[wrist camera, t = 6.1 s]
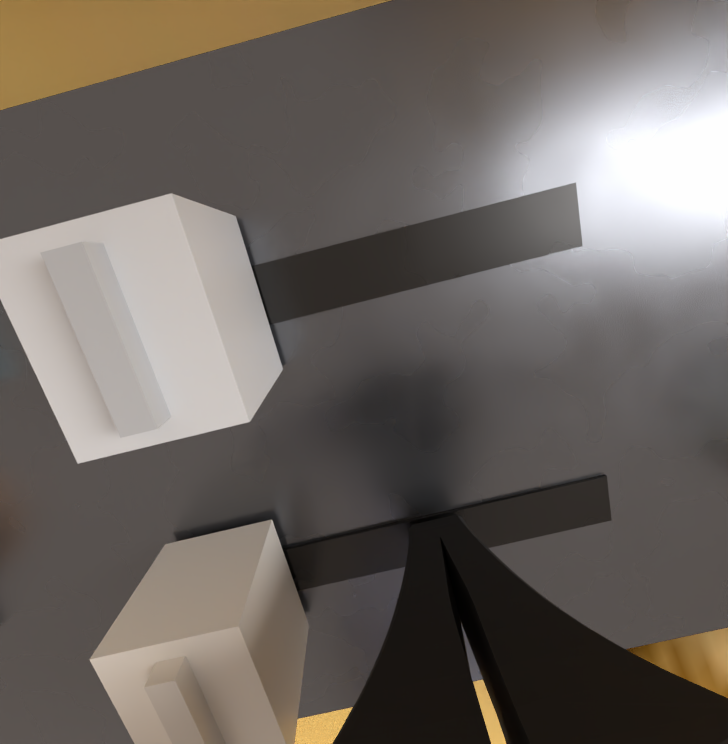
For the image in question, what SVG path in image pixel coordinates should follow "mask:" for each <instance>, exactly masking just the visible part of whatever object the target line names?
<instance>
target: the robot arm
mask: <svg viewBox="0 0 728 744" xmlns="http://www.w3.org/2000/svg"><path fill="white" fill-rule="evenodd" d="M461 623H462V626H463V629H464V631H465V634H466V636H467V639H468V642H469V644H470V647H471V649H472V652H473V655H474V657H475V660H476V662H477V665H478V667H479V670H480V673H481V675H482V678H483V680H484V683H485V685H486V688H487V691H488V693H489V696H490V698H491V701H492V703H493V706H494V709H495V711H496V714H497V717H498V719H499V722H500V725H501V728H502V731H503V734H504V737H505V740H506V743H507V744H728V698H726V697H724V696H721V695H719V694H717V693H715V692H712V691H710V690H708V689H706V688H703V687H701V686H699V685H697V684H694V683H692V682H690V681H688V680H686V679H683V678H681V677H679V676H677V675H674V674H672V673H670V672H668V671H666V670H664V669H662V668H660V667H658V666H656V665H654V664H652V663H650V662H648V661H646V660H644V659H642V658H640V657H638V656H636V655H634V654H633V653H631V652H629V651H627V650H626V649H624V648H622V647H621V646H619V645H617V644H616V643H614V642H612V641H610V640H609V639H607V638H605V637H604V636H602V635H600V634H598V633H597V632H595V631H593V630H592V629H590V628H588V627H587V626H585V625H584V624H582V623H581V622H579V621H578V620H576V619H575V618H573V617H572V616H570V615H569V614H567V613H566V612H564V611H563V610H562V609H560V608H559V607H557V606H556V605H555V604H553V603H552V602H550V601H549V600H548V599H546V598H545V597H544V596H542V595H541V594H540V593H539V592H537V591H536V590H535V589H533V588H532V587H531V586H530V585H529V584H527V583H526V582H525V581H524V580H523V579H521V578H520V577H519V576H518V575H517V574H515V573H514V572H513V571H512V570H511V569H510V568H509V567H508V566H507V565H505V564H504V563H503V562H502V561H501V560H500V559H499V558H498V557H497V556H496V555H495V554H494V553H493V552H492V551H491V550H490V549H489V548H488V547H487V546H486V545H485V544H484V543H483V542H482V541H481V540H480V539H479V538H478V537H477V536H476V534H475V533H474V532H473V531H472V530H471V529H470V527H469V526H468V525H467V524H466V522H465V521H464V520H463V518H462V517H461V516H459V515H457V514H456V515H452V516H447V517H443V518H439V519H435V520H431V521H426V522H422V523H418V524H414V525H412V526H411V527H410V528H409V546H408V554H407V561H406V566H405V571H404V576H403V581H402V585H401V589H400V593H399V596H398V600H397V603H396V607H395V611H394V614H393V617H392V620H391V623H390V626H389V629H388V632H387V635H386V637H385V640H384V642H383V645H382V648H381V650H380V653H379V655H378V657H377V659H376V662H375V664H374V666H373V668H372V671H371V673H370V675H369V677H368V680H367V682H366V684H365V686H364V688H363V690H362V692H361V694H360V696H359V698H358V699H357V701H356V703H355V705H354V707H353V708H352V710H351V712H350V714H349V716H348V717H347V719H346V721H345V723H344V725H343V727H342V728H341V730H340V732H339V734H338V735H337V737H336V739H335V740H334V742H333V744H491V742H490V739H489V735H488V732H487V728H486V725H485V722H484V718H483V715H482V712H481V708H480V705H479V701H478V698H477V695H476V691H475V688H474V684H473V681H472V678H471V672H470V667H469V662H468V657H467V652H466V646H465V641H464V636H463V631H462V626H461Z"/></svg>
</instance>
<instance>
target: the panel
mask: <svg viewBox="0 0 728 744" xmlns="http://www.w3.org/2000/svg"><path fill="white" fill-rule="evenodd" d="M171 193H172V194H175V195H178V196H181V197H183V198H186V199H189V200H192V201H195V202H197V203H200V204H203V205H206V206H209V207H212V208H214V209H217V210H220V211H223V212H226V213H229V214H231V215H234V216H236V219H237V222H238V225H239V228H240V232H241V235H242V238H243V241H244V245H245V248H246V251H247V254H248V257H249V261H250V264H251V267H252V270H253V274H254V277H255V280H256V283H257V287H258V290H259V293H260V296H261V300H262V303H263V306H264V309H265V313H266V316H267V319H268V322H269V325H270V329H271V332H272V335H273V338H274V342H275V345H276V348H277V351H278V355H279V358H280V361H281V364H282V368H283V370H282V372H281V373H280V375H279V377H278V378H277V380H276V381H275V383H274V384H273V386H272V388H271V389H270V391H269V392H268V394H267V396H266V397H265V399H264V400H263V402H262V403H261V405H260V407H259V408H258V410H257V411H256V413H255V414H254V416H253V418H252V419H251V421H250V422H247V423H243V424H239V425H235V426H231V427H227V428H223V429H219V430H215V431H210V432H206V433H202V434H198V435H194V436H190V437H186V438H182V439H177V440H173V441H169V442H165V443H161V444H157V445H153V446H149V447H145V448H140V449H136V450H132V451H128V452H124V453H120V454H116V455H112V456H108V457H103V458H99V459H95V460H91V461H87V462H83V463H79V464H78V463H77V461H76V459H75V457H74V455H73V453H72V450H71V448H70V446H69V444H68V442H67V440H66V438H65V436H64V433H63V431H62V429H61V427H60V425H59V423H58V421H57V419H56V416H55V414H54V412H53V410H52V408H51V406H50V404H49V402H48V399H47V397H46V395H45V393H44V391H43V389H42V387H41V385H40V382H39V380H38V378H37V376H36V374H35V372H34V370H33V368H32V366H31V363H30V361H29V359H28V357H27V355H26V353H25V351H24V349H23V346H22V344H21V342H20V340H19V338H18V336H17V334H16V332H15V329H14V327H13V325H12V323H11V321H10V319H9V317H8V315H7V312H6V310H5V308H4V306H3V304H2V302H1V300H0V744H134V742H133V740H132V738H131V736H130V734H129V733H128V731H127V729H126V727H125V725H124V723H123V721H122V720H121V718H120V716H119V714H118V712H117V710H116V708H115V706H114V705H113V703H112V701H111V699H110V697H109V695H108V693H107V692H106V690H105V688H104V686H103V684H102V682H101V680H100V678H99V677H98V675H97V673H96V671H95V669H94V667H93V665H92V664H91V662H90V660H89V659H90V658H91V656H92V655H93V653H94V652H95V650H96V649H97V647H98V646H99V644H100V643H101V641H102V640H103V638H104V636H105V635H106V633H107V632H108V630H109V629H110V627H111V626H112V624H113V623H114V621H115V620H116V618H117V617H118V615H119V614H120V612H121V611H122V609H123V608H124V606H125V605H126V603H127V602H128V600H129V599H130V597H131V595H132V594H133V592H134V591H135V589H136V588H137V586H138V585H139V583H140V582H141V580H142V579H143V577H144V576H145V574H146V573H147V571H148V570H149V568H150V567H151V565H152V564H153V562H154V561H155V559H156V558H157V556H158V554H159V553H160V551H161V550H162V548H163V547H164V545H165V544H168V543H173V542H177V541H181V540H186V539H190V538H194V537H199V536H203V535H207V534H211V533H216V532H220V531H224V530H229V529H233V528H237V527H242V526H246V525H250V524H254V523H259V522H263V521H267V520H272V521H273V524H274V526H275V529H276V532H277V535H278V538H279V541H280V544H281V546H282V549H283V552H284V555H285V558H286V561H287V564H288V566H289V569H290V572H291V575H292V578H293V581H294V584H295V586H296V589H297V592H298V595H299V598H300V601H301V604H302V606H303V609H304V612H305V615H306V618H307V621H308V624H309V628H308V636H307V645H306V653H305V661H304V669H303V677H302V686H301V694H300V702H299V710H298V718H303V717H308V716H312V715H317V714H322V713H327V712H331V711H336V710H341V709H345V708H350V707H354V705H355V703H356V701H357V699H358V698H359V696H360V694H361V692H362V690H363V688H364V686H365V684H366V682H367V680H368V677H369V675H370V673H371V671H372V668H373V666H374V664H375V662H376V659H377V657H378V655H379V653H380V650H381V648H382V645H383V642H384V640H385V637H386V635H387V632H388V629H389V626H390V623H391V620H392V617H393V614H394V611H395V607H396V603H397V600H398V596H399V593H400V589H401V585H402V581H403V576H404V571H405V566H406V561H407V554H408V546H409V528H410V527H411V526H412V525H414V524H418V523H422V522H426V521H431V520H435V519H439V518H443V517H447V516H452V515H456V514H457V515H459V516H461V517H462V518H463V520H464V521H465V522H466V524H467V525H468V526H469V527H470V529H471V530H472V531H473V532H474V533H475V534H476V536H477V537H478V538H479V539H480V540H481V541H482V542H483V543H484V544H485V545H486V546H487V547H488V548H489V549H490V550H491V551H492V552H493V553H494V554H495V555H496V556H497V557H498V558H499V559H500V560H501V561H502V562H503V563H504V564H505V565H507V566H508V567H509V568H510V569H511V570H512V571H513V572H514V573H515V574H517V575H518V576H519V577H520V578H521V579H523V580H524V581H525V582H526V583H527V584H529V585H530V586H531V587H532V588H533V589H535V590H536V591H537V592H539V593H540V594H541V595H542V596H544V597H545V598H546V599H548V600H549V601H550V602H552V603H553V604H555V605H556V606H557V607H559V608H560V609H562V610H563V611H564V612H566V613H567V614H569V615H570V616H572V617H573V618H575V619H576V620H578V621H579V622H581V623H582V624H584V625H585V626H587V627H588V628H590V629H592V630H593V631H595V632H597V633H598V634H600V635H602V636H604V637H605V638H607V639H609V640H610V641H612V642H614V643H616V644H617V645H619V646H621V647H622V648H624V649H628V648H633V647H638V646H642V645H647V644H652V643H657V642H661V641H666V640H671V639H675V638H680V637H685V636H690V635H694V634H699V633H704V632H708V631H713V630H718V629H723V628H727V627H728V0H391V1H388V2H384V3H381V4H377V5H374V6H370V7H367V8H363V9H359V10H356V11H352V12H349V13H345V14H342V15H338V16H335V17H331V18H327V19H324V20H320V21H317V22H313V23H310V24H306V25H303V26H299V27H295V28H292V29H288V30H285V31H281V32H278V33H274V34H271V35H267V36H263V37H260V38H256V39H253V40H249V41H246V42H242V43H239V44H235V45H231V46H228V47H224V48H221V49H217V50H214V51H210V52H207V53H203V54H199V55H196V56H192V57H189V58H185V59H182V60H178V61H174V62H171V63H167V64H164V65H160V66H157V67H153V68H150V69H146V70H142V71H139V72H135V73H132V74H128V75H125V76H121V77H118V78H114V79H110V80H107V81H103V82H100V83H96V84H93V85H89V86H86V87H82V88H78V89H75V90H71V91H68V92H64V93H61V94H57V95H54V96H50V97H46V98H43V99H39V100H36V101H32V102H29V103H25V104H22V105H18V106H14V107H11V108H7V109H4V110H0V239H3V238H7V237H10V236H14V235H18V234H22V233H25V232H29V231H33V230H36V229H40V228H44V227H48V226H51V225H55V224H59V223H63V222H66V221H70V220H74V219H77V218H81V217H85V216H89V215H92V214H96V213H100V212H104V211H107V210H111V209H115V208H119V207H122V206H126V205H130V204H133V203H137V202H141V201H145V200H148V199H152V198H156V197H160V196H163V195H167V194H171ZM461 626H462V623H461ZM462 631H463V636H464V641H465V646H466V652H467V657H468V662H469V667H470V672H471V678H472V681H477V680H482V679H483V678H482V675H481V673H480V670H479V667H478V665H477V662H476V660H475V657H474V655H473V652H472V649H471V647H470V644H469V642H468V639H467V636H466V634H465V631H464V629H463V626H462ZM298 718H297V719H298Z"/></svg>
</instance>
